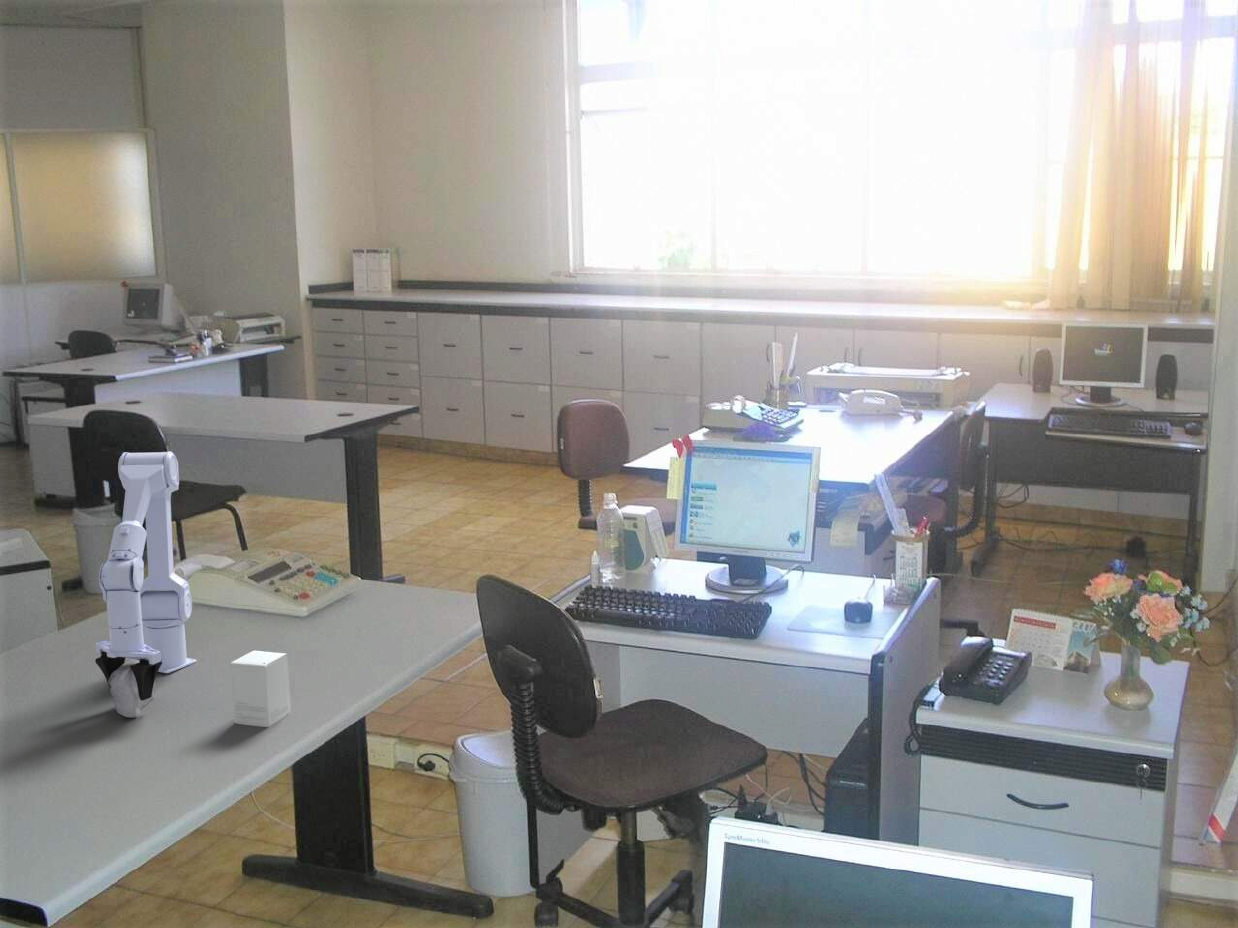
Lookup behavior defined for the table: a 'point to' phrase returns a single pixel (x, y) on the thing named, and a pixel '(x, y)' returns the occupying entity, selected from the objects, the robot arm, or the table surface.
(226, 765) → the table surface
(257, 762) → the table surface
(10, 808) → the table surface
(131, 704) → the stone block
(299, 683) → the table surface
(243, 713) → the supplement box
